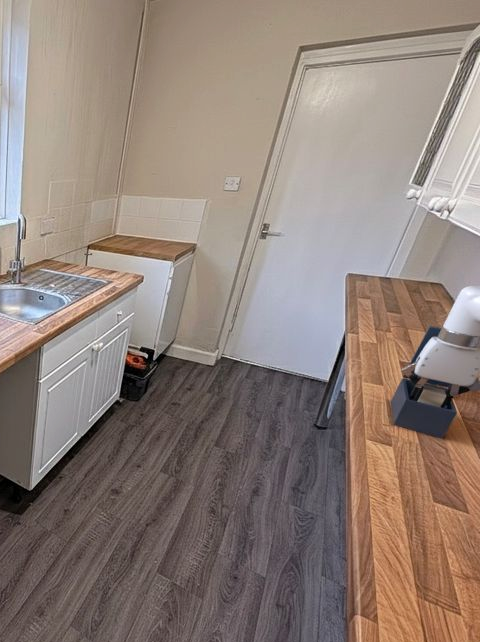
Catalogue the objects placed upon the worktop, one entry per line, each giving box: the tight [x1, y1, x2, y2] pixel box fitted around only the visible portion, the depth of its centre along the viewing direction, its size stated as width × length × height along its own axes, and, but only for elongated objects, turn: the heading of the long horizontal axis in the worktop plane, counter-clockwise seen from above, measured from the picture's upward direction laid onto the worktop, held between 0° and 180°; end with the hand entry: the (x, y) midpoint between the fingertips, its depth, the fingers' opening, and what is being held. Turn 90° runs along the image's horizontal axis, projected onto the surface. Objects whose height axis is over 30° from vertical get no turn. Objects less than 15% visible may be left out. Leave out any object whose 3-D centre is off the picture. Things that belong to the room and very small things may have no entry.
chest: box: [390, 377, 458, 439], centre depth 109 cm, size 15×9×8 cm, turn 138°
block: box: [417, 385, 446, 407], centre depth 105 cm, size 4×4×4 cm
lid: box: [402, 325, 450, 389], centre depth 109 cm, size 16×9×1 cm
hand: (427, 402), depth 106 cm, fingers closed on block, 4 cm apart
